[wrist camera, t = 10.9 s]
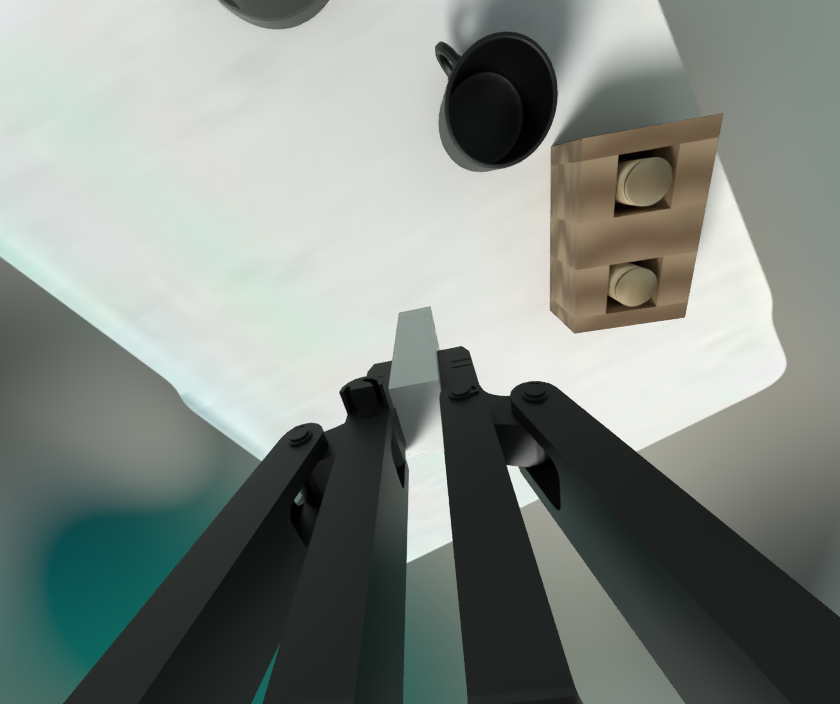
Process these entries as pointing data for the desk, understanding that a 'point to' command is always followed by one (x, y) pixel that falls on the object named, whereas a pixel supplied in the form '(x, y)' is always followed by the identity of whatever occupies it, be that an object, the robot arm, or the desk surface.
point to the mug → (496, 101)
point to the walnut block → (627, 222)
